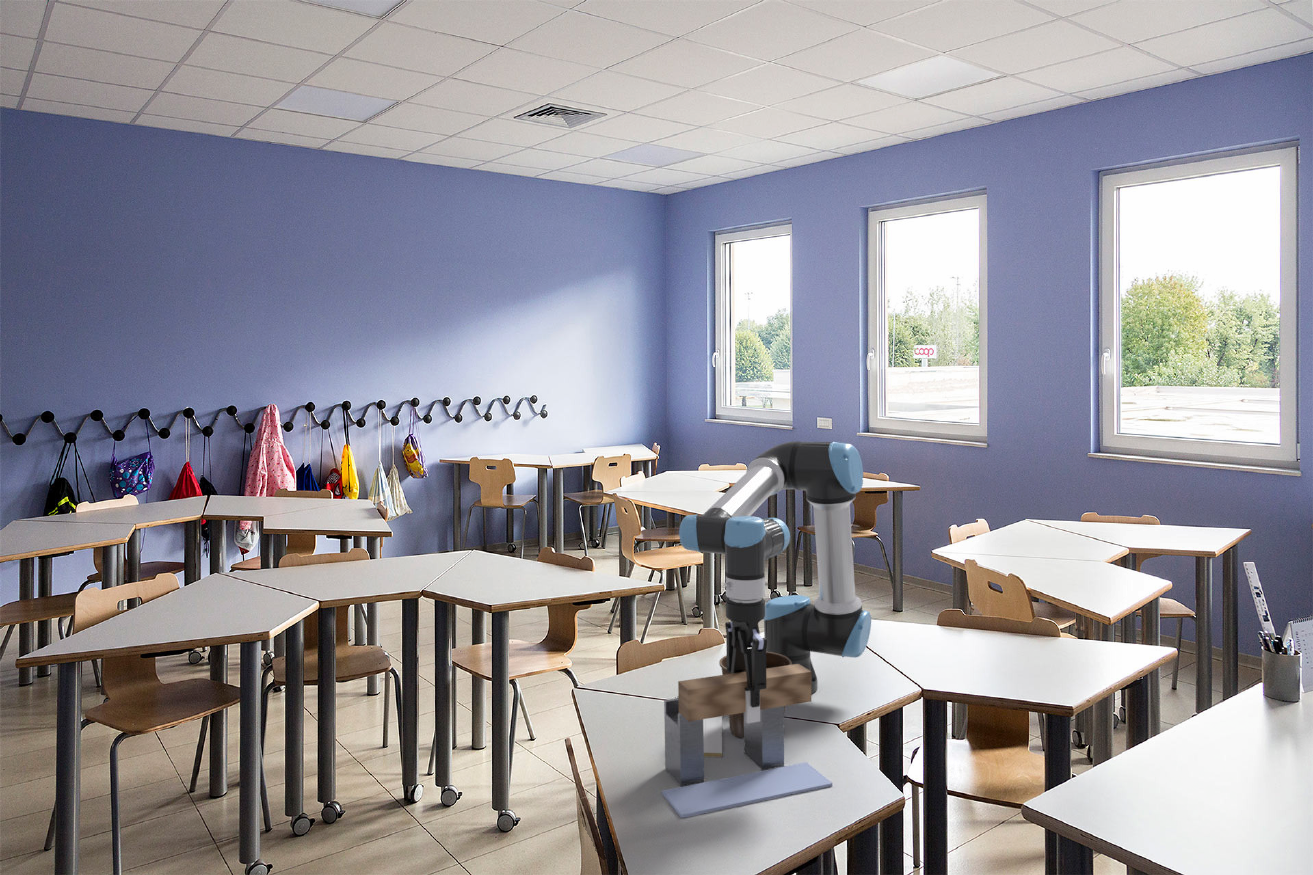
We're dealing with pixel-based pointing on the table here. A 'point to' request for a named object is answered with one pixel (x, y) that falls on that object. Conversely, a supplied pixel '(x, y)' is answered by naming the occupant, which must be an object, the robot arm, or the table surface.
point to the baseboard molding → (712, 736)
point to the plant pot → (771, 661)
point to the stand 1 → (683, 746)
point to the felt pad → (744, 789)
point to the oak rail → (742, 692)
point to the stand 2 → (766, 739)
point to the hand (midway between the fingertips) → (746, 716)
